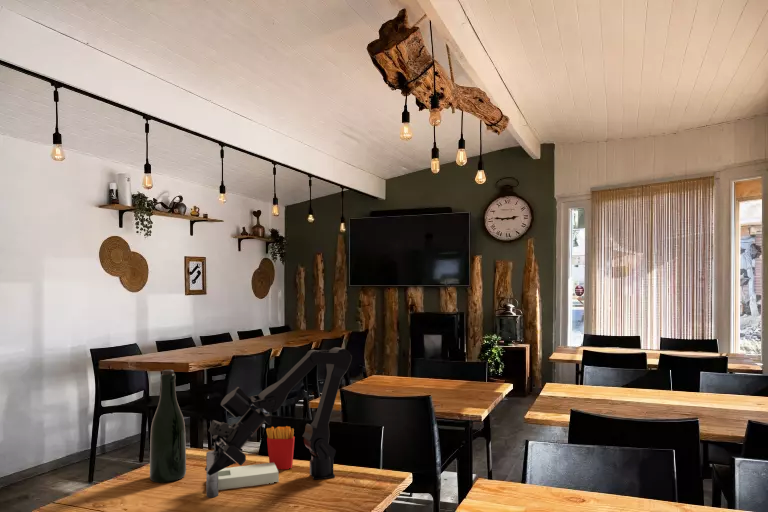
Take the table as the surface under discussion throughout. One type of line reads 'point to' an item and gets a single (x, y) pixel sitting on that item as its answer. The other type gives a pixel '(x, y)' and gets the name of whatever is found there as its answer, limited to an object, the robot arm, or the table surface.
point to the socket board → (247, 476)
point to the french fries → (281, 446)
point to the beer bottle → (167, 435)
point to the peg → (211, 479)
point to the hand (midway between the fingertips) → (207, 472)
